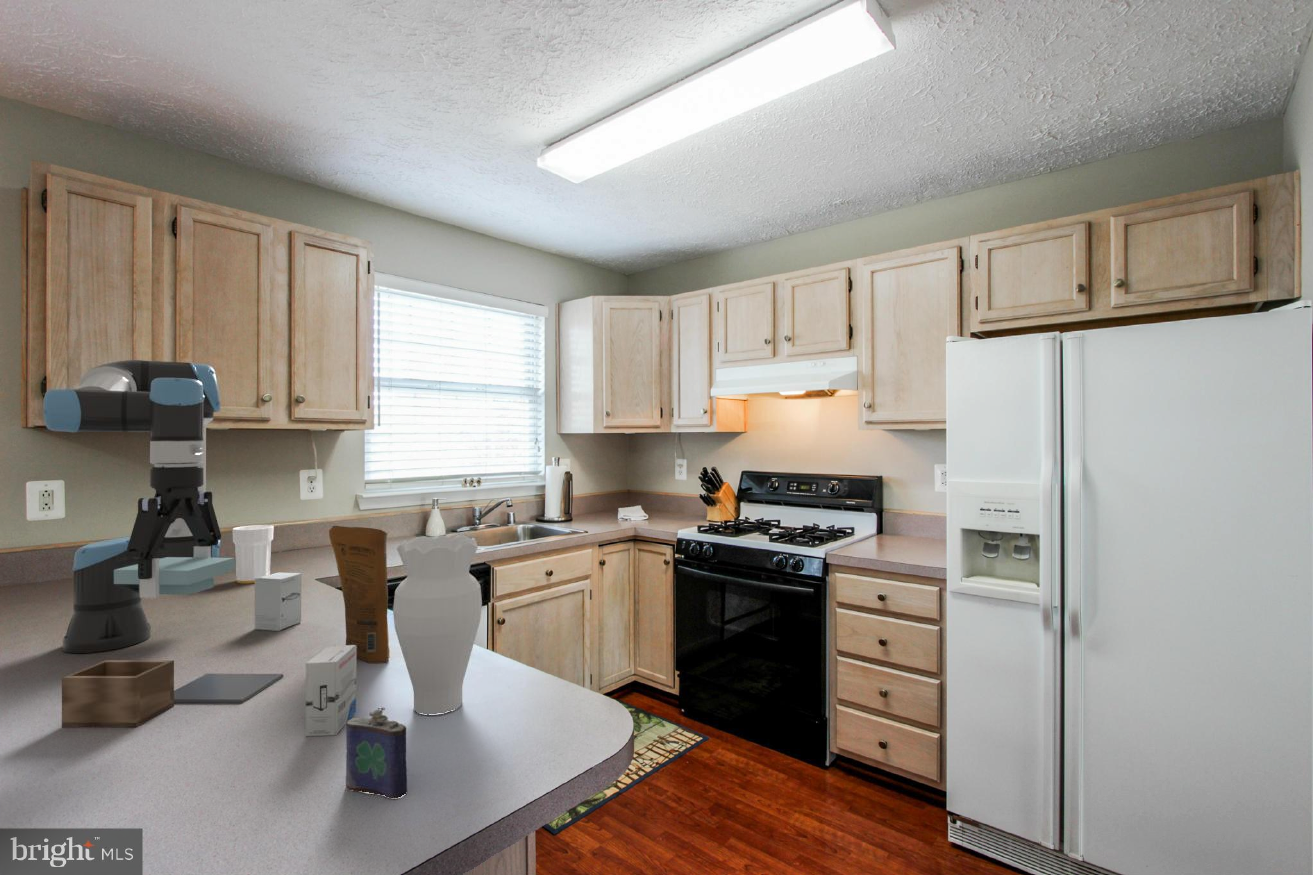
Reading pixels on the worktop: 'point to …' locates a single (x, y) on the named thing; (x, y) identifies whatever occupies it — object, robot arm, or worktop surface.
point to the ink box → (330, 690)
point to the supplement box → (277, 601)
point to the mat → (224, 688)
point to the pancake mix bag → (363, 589)
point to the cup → (252, 552)
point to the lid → (181, 574)
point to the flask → (376, 755)
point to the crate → (117, 693)
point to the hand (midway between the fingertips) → (177, 589)
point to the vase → (437, 618)
